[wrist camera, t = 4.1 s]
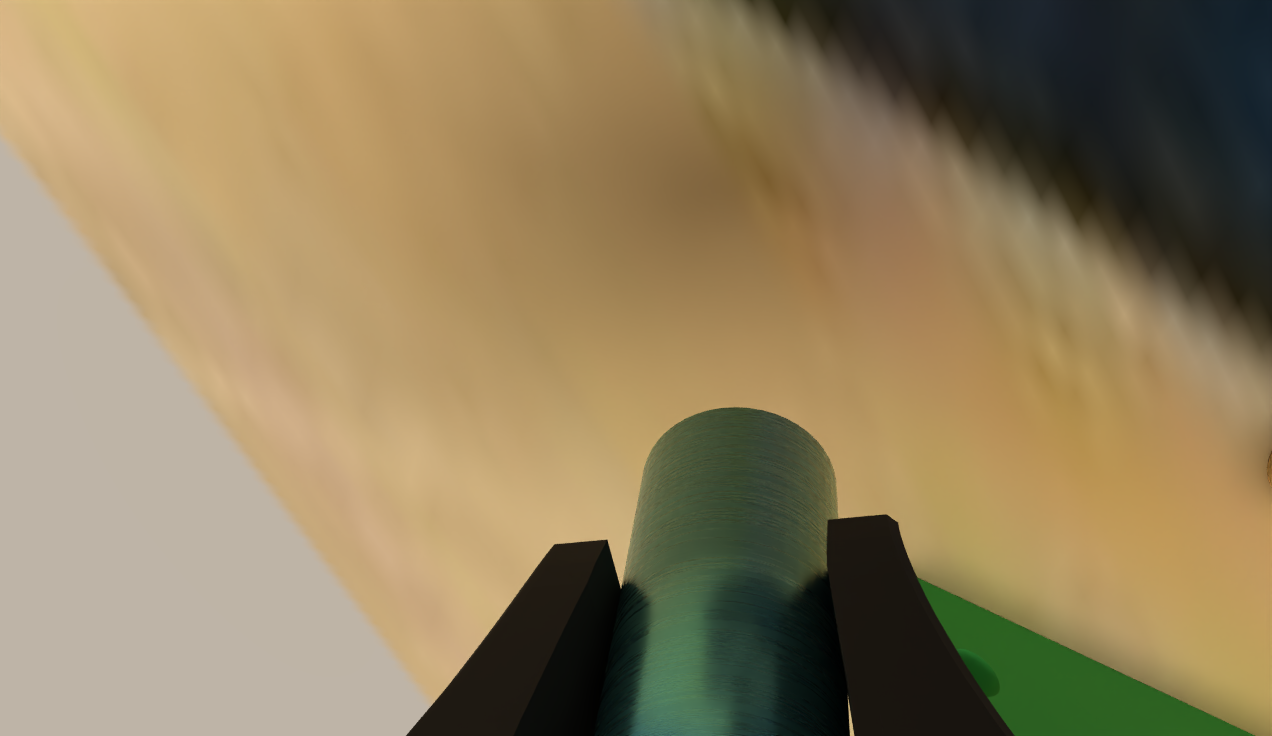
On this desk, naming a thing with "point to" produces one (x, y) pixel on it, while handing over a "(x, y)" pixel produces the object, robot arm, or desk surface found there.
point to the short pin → (1270, 469)
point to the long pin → (728, 588)
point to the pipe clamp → (1059, 682)
